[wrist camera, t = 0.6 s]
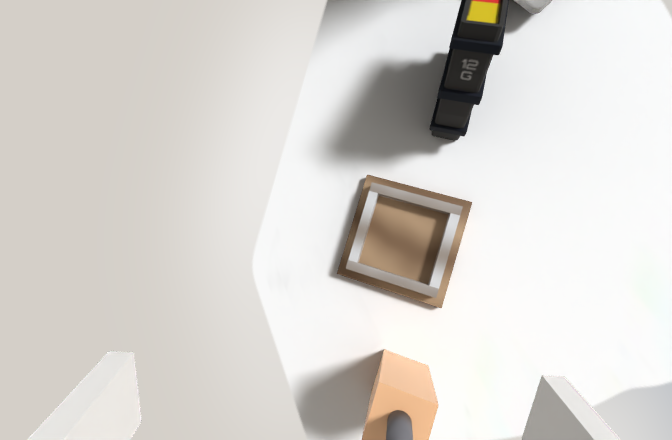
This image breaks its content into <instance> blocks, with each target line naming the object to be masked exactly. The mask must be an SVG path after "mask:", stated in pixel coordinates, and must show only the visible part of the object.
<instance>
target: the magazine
mask: <svg viewBox="0 0 672 440" xmlns="http://www.w3.org/2000/svg"><path fill="white" fill-rule="evenodd" d="M508 2H509V0H462V1H461V5H460V8H459V12H458V16H457V20H456V24H455V28H454V31H453V35H452V39H451V43H450V47H449V48H450V49H449V53H448V57H447V61H446V65H445V69H444V73H443V77H442V80H441V84H440V88H439V92H438V96H437V102H436V106H435V110H434V114H433V117H432V121H431V125H430V130H432V135H433V136H436V137H441V138H446V139H451V140H458V139H459V137H460V136H465V134H466V132H467V128H468V124H469V120H470V115H471V111H472V108H473V106H474V104H476V105H479V103H480V101H481V99H482V95H483V90H484V84H485V79H486V74H487V70H488V68H489V65H490V62H491V60H492V57H493V55H499V54H500V51H501V49H502V45H503V38H504V31H505V24H506V17H507V9H508Z"/></svg>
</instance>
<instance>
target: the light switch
mask: <svg viewBox="0 0 672 440" xmlns="http://www.w3.org/2000/svg"><path fill="white" fill-rule="evenodd" d="M514 1H515V2H516V3H518V4H519V5H521V6H522V7H523V8H524V9H526V10H527V11H528V12H529V13H532V14H536V13H540V12H541V11H542V10H543V9H544V8H545V7H546V6H547V5H548V4H549V3H550V2H551V1H552V0H514Z"/></svg>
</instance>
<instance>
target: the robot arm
mask: <svg viewBox="0 0 672 440" xmlns="http://www.w3.org/2000/svg"><path fill="white" fill-rule="evenodd" d="M141 421H142V420H141V410H140V403H139V393H138V384H137V375H136V366H135V357H134V353H130V352H113V351H109V352H108V353H107V354H106V355H105V356H104V357H103V358H102V359H101V360H100V361H99V363H98V364H97V365H96V366H95V367H94V368H93V369H92V370H91V371H90V372H89V374H87V376H86V377H85V378H84V379H83V380H82V381H81V382H80V383H79V384H78V385H77V386H76V387H75V388H74V390H73V391H72V392H71V393H70V394H69V395H68V396H67V397H66V398H65V399H64V400H63V401H62V403H61V404H60V405H59V406H58V407H57V408H56V409H55V410H54V411H53V412H52V413H51V415H49V417H48V418H47V419H46V420H45V421H44V422H43V423H42V424H41V425H40V426H39V427H38V428H37V430H36V431H35V432H34V433H33V434H32V435H31V436H30V437H29V438H28V439H27V440H131V438H132V436H133V435H134V433H135V431H136V430H137V428H138V426H139V425H140V423H141ZM522 440H621V439H620V438H619V437H618V436H617V435H616V434H615V433H614V431H613V430H612V429H611V428H610V427H609V426H608V425H607V424H606V422H605V421H604V420H603V419H602V418H601V417H600V416H599V415H598V413H597V412H596V411H595V410H594V409H593V408H592V407H591V406H590V405H589V403H588V402H587V401H586V400H585V399H584V398H583V397H582V396H581V394H580V393H579V392H578V391H577V390H576V389H575V388H574V387H573V385H572V384H571V383H570V382H569V381H568V380H567V379H566V378H565V377H563V376H545V375H542V377H541V380H540V383H539V386H538V389H537V392H536V396H535V399H534V402H533V405H532V408H531V411H530V414H529V417H528V421H527V424H526V427H525V430H524V433H523V436H522Z"/></svg>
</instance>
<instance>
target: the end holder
mask: <svg viewBox="0 0 672 440" xmlns="http://www.w3.org/2000/svg"><path fill="white" fill-rule="evenodd" d="M471 205H472V202H469V201H465V200H462V199H458V198H454V197H450V196H446V195H443V194H439V193H435V192H431V191H428V190H424V189H420V188H416V187H412V186H409V185H405V184H401V183H397V182H393V181H390V180H386V179H382V178H378V177H374V176H371V175H367V177H366V180H365V183H364V186H363V190H362V193H361V196H360V200H359V203H358V206H357V209H356V213H355V216H354V219H353V222H352V226H351V229H350V232H349V236H348V239H347V242H346V245H345V249H344V252H343V255H342V258H341V262H340V265H339V268H338V272H337V274H339V275H342V276H345V277H348V278H351V279H354V280H357V281H360V282H363V283H366V284H369V285H373V286H376V287H379V288H382V289H385V290H388V291H391V292H394V293H397V294H400V295H403V296H406V297H409V298H412V299H415V300H418V301H421V302H424V303H427V304H430V305H433V306H436V307H439V308H442V305H443V301H444V298H445V294H446V291H447V287H448V284H449V280H450V277H451V274H452V270H453V267H454V263H455V260H456V256H457V253H458V249H459V246H460V243H461V239H462V236H463V232H464V229H465V225H466V222H467V218H468V215H469V212H470V208H471Z"/></svg>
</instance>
